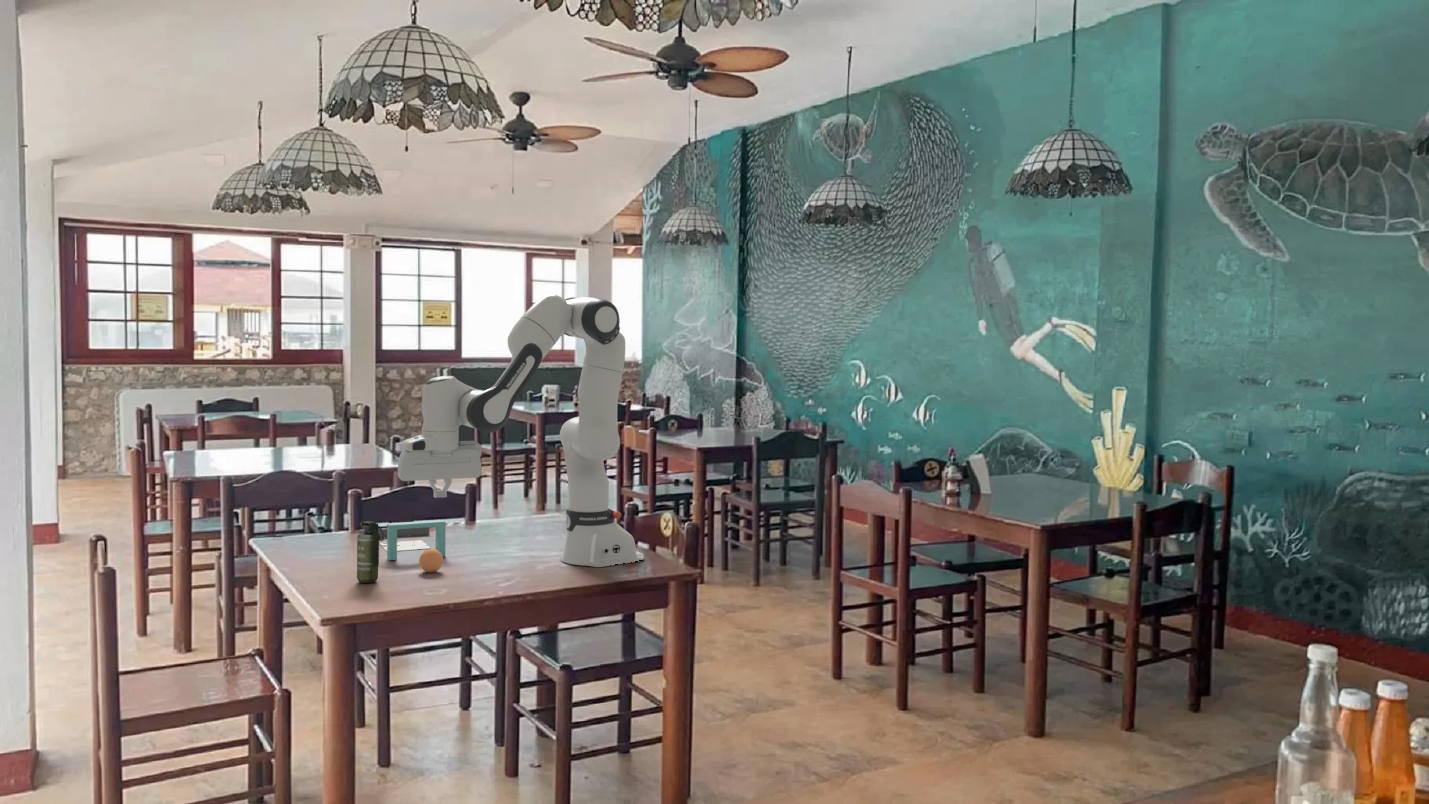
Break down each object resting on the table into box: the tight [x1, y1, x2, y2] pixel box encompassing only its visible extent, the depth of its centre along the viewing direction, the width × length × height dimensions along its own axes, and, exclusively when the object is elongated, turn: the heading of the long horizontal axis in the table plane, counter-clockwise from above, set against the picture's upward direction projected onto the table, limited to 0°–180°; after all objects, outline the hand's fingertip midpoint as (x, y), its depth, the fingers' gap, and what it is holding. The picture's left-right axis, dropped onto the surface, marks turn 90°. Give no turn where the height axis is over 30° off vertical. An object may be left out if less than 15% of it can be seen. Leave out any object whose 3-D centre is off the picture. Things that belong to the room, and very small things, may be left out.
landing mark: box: [379, 539, 432, 552], centre depth 312 cm, size 12×12×1 cm
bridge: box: [386, 519, 447, 561], centre depth 297 cm, size 3×15×10 cm, turn 117°
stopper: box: [358, 527, 430, 539], centre depth 325 cm, size 20×2×2 cm, turn 117°
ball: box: [418, 548, 444, 573], centre depth 281 cm, size 6×6×6 cm
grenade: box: [356, 520, 385, 584], centre depth 269 cm, size 6×6×15 cm
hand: (440, 497), depth 271 cm, fingers closed
